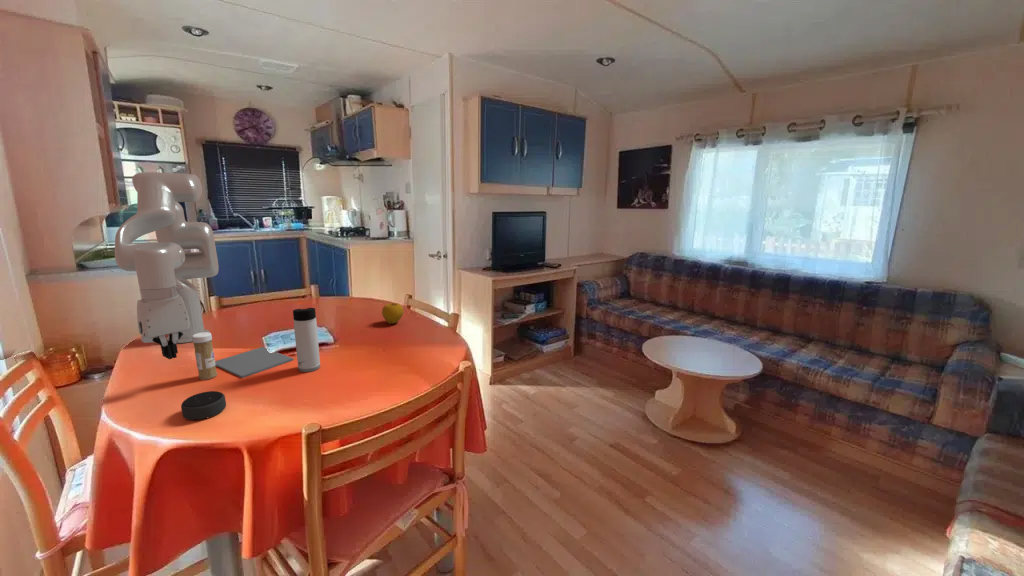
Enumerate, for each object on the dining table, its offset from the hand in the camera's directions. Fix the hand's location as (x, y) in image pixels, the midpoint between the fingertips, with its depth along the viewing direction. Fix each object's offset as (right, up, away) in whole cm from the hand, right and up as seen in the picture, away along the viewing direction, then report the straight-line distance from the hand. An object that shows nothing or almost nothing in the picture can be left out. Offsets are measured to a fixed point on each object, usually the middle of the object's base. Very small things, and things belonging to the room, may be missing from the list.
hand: (170, 357), depth 114 cm
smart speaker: (+17, -13, -10) cm, 23 cm away
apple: (+44, +4, +62) cm, 76 cm away
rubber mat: (+10, -5, +20) cm, 23 cm away
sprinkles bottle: (+4, -7, +9) cm, 12 cm away
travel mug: (+30, -6, +17) cm, 35 cm away
